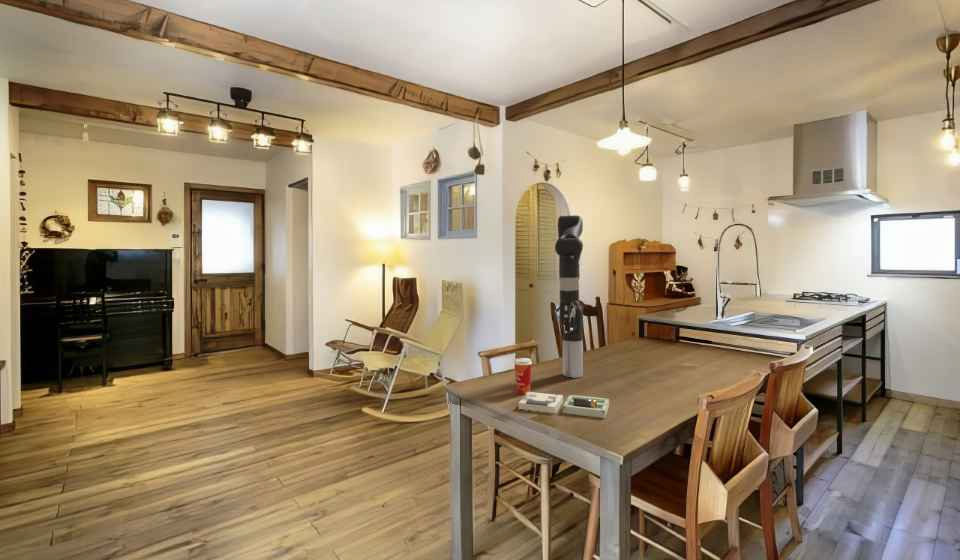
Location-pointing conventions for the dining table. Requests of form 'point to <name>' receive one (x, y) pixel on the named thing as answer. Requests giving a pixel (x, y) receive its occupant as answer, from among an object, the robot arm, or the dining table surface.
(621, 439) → the dining table surface
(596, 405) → the cell
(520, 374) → the paper cup
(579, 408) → the tray
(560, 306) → the robot arm
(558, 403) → the white battery holder
